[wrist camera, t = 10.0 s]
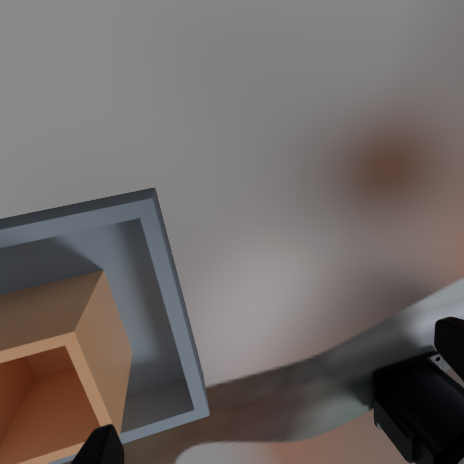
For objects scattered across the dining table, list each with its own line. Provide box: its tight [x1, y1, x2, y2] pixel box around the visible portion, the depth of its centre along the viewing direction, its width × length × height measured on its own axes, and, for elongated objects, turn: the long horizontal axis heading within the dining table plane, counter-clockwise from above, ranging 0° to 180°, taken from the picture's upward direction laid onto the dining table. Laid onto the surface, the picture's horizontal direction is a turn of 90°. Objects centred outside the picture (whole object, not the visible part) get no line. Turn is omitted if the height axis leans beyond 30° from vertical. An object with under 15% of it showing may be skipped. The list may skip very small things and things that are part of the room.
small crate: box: [0, 270, 133, 464], centre depth 15 cm, size 6×6×6 cm
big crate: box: [0, 188, 210, 464], centre depth 17 cm, size 14×14×4 cm
